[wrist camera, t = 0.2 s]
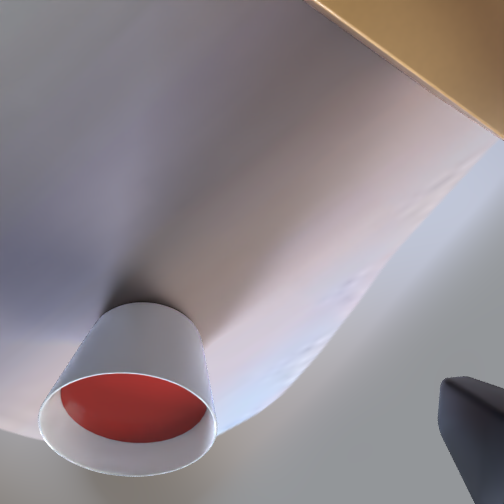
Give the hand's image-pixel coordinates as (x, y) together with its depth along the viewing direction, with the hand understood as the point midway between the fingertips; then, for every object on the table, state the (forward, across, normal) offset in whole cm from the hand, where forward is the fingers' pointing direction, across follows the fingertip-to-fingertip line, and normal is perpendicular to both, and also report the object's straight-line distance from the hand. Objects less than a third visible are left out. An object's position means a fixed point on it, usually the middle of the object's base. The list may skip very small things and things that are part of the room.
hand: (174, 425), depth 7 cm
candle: (+18, -5, -9) cm, 21 cm away
